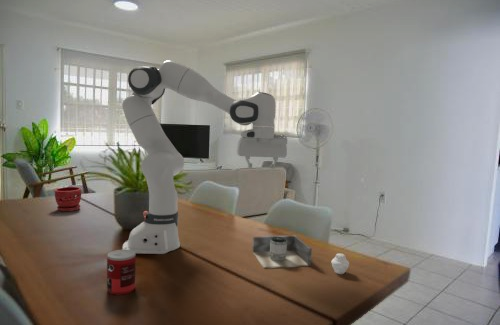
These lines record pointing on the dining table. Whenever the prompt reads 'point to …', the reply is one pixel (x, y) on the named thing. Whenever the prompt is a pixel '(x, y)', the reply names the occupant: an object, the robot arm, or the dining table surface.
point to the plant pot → (68, 198)
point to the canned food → (121, 271)
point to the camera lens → (278, 249)
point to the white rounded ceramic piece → (340, 263)
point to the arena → (295, 252)
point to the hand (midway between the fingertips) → (261, 168)
